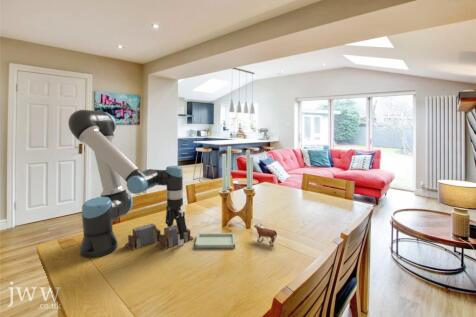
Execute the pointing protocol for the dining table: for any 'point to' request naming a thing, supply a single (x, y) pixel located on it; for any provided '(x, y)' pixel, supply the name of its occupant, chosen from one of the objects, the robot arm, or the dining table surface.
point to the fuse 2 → (171, 234)
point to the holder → (131, 240)
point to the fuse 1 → (144, 234)
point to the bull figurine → (265, 233)
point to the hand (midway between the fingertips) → (175, 241)
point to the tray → (215, 240)
